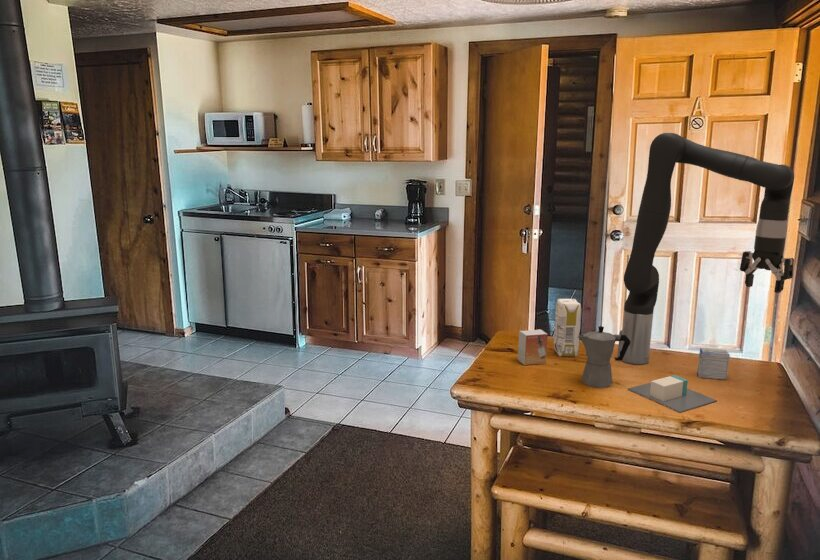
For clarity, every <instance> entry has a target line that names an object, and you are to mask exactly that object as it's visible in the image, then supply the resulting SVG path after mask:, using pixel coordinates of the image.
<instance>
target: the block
mask: <svg viewBox="0 0 820 560" xmlns="http://www.w3.org/2000/svg"><path fill="white" fill-rule="evenodd" d="M688 381H689V380H688V379H686V378H683V377H681V376H678V375H676V374H674V375H669V376H666V377H661V378H659V379H655V380H651V381H650V383H651V389H650V396H652V397H654V398H656V399H659V400H661V401H666V400H669V399H673V398H676V397H680V396H683V395H686V392H687V388H688V383H689V382H688Z"/></svg>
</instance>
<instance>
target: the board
mask: <svg viewBox="0 0 820 560" xmlns="http://www.w3.org/2000/svg"><path fill="white" fill-rule="evenodd" d="M650 389H651V382H648V383H644V384H640V385H636V386H633V387H632V386H631V387H629V388H627V391H630V392H631V393H634V394H636V393H637V394H636V395H638V394H639V396H641V397H643V396H644V397H643V398H645V397H646V399H647V398H649V399H648V400H650V399H651V400H650V401H652V400H654V401H656V402H658V403H657V404H659V403H660V404H659V405H661V404H662V405H661V406H663V405H665V406H667V407H666V408H668V407H669V408H668V409H670V408H671V409H670V410H672V409H673V411H674V412H677V413H679V414H681V413H684V412H688V411H691V410H694V409H697V407H698V408H700V406H701V407H704V406H707V405H711V404H713V403H717V402H718V400H717V399H715V398H713V397H711V396H708V395H705V394H703V393H700V392H697V391H696V390H693V389H691V388H688V387H687V392H686V395H683V396H680V397H676V398H673V399H669V400H666V401H661V400H659V399H656V398H654V397H652V396H650ZM654 401H653V402H654ZM656 402H655V403H656ZM665 406H664V407H665ZM693 408H694V409H693ZM690 409H691V410H690Z"/></svg>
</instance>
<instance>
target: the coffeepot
mask: <svg viewBox="0 0 820 560" xmlns="http://www.w3.org/2000/svg"><path fill="white" fill-rule="evenodd" d="M604 329H605V327H604V326H602V325H600V326H598V330H595V331H587V332H586V333H580V335H579V336H578V338H579V340H580V341H581V342H582V344H583V346H584V350H585V356H586V362H585V365H584V367H583V368H584V369H583V371H582V377H581V382H582V383H583V384H584V385H586V386H588V387H592V388H597V389H598V388H599V389H600V388H601V389H606V388H609V387H611V386H612V384H613V376H612V375H613V374H612V364H611V358H612V356H613V352H614V349H615V346H616V345H615V344H616V342H619V341H624V344H623V347H622V350H621V351H620V356H619V357H614V360H615V361H617V362H619V361H622V359H623V357H624V355H625V353H626V351H627V349H628V347H629V345H630V340H629V338H628V337H627V336H626V335H619V334H616V333H615V334H613V333H610V332H605V331H604Z"/></svg>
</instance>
